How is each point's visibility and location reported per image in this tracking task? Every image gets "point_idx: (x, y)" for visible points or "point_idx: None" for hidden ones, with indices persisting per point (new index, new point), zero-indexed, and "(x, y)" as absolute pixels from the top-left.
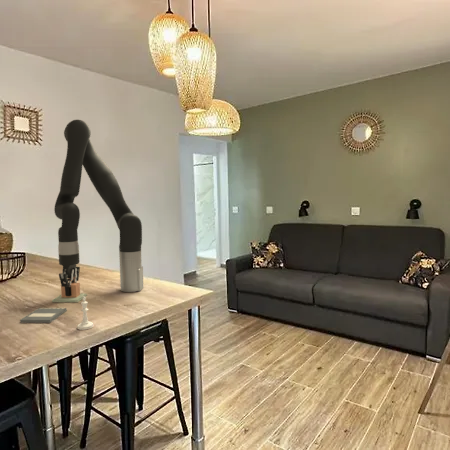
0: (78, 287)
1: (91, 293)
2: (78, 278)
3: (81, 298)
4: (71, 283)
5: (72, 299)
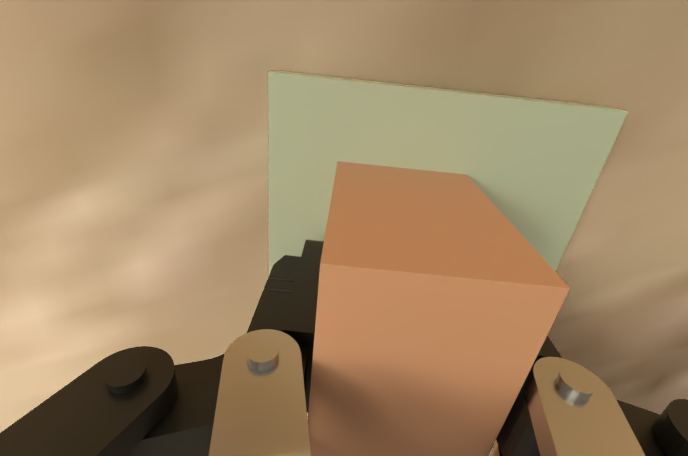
0: (396, 221)
1: (155, 27)
2: (70, 392)
3: (482, 93)
4: (365, 406)
5: (556, 198)
